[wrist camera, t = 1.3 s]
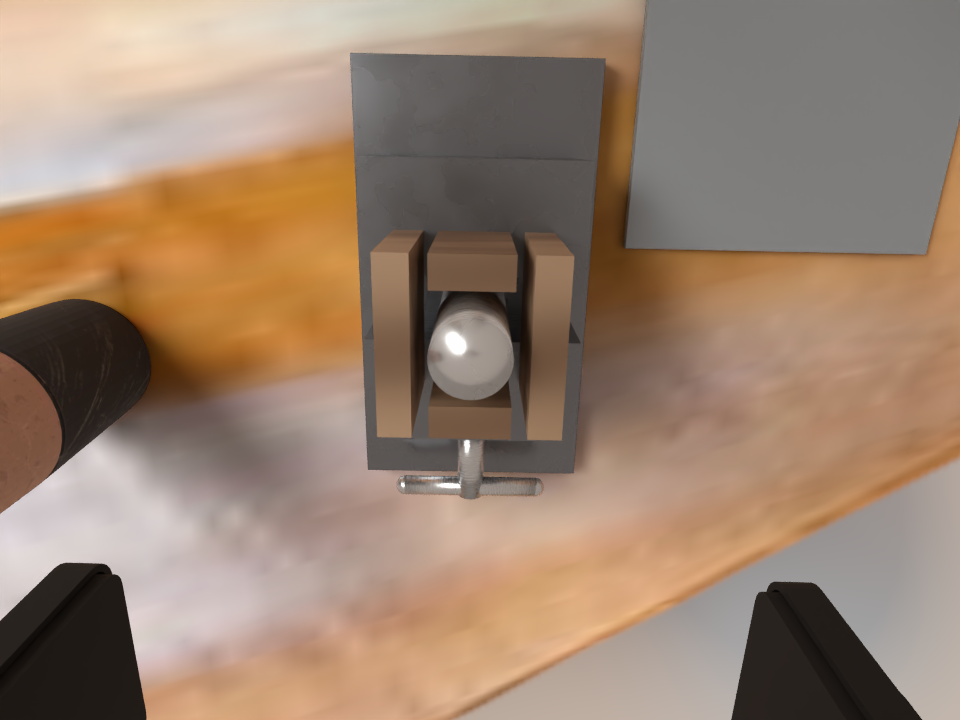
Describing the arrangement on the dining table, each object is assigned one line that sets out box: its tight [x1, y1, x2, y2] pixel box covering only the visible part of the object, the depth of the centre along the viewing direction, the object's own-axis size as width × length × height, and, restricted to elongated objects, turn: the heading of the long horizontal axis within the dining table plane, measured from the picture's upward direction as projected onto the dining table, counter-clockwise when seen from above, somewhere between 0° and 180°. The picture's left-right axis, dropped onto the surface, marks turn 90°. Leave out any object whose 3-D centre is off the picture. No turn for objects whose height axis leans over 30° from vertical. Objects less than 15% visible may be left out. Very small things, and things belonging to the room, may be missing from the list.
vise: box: [350, 53, 605, 499], centre depth 28 cm, size 22×12×14 cm, turn 179°
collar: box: [370, 230, 574, 441], centre depth 26 cm, size 7×7×6 cm
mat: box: [623, 0, 960, 255], centre depth 31 cm, size 16×16×1 cm
